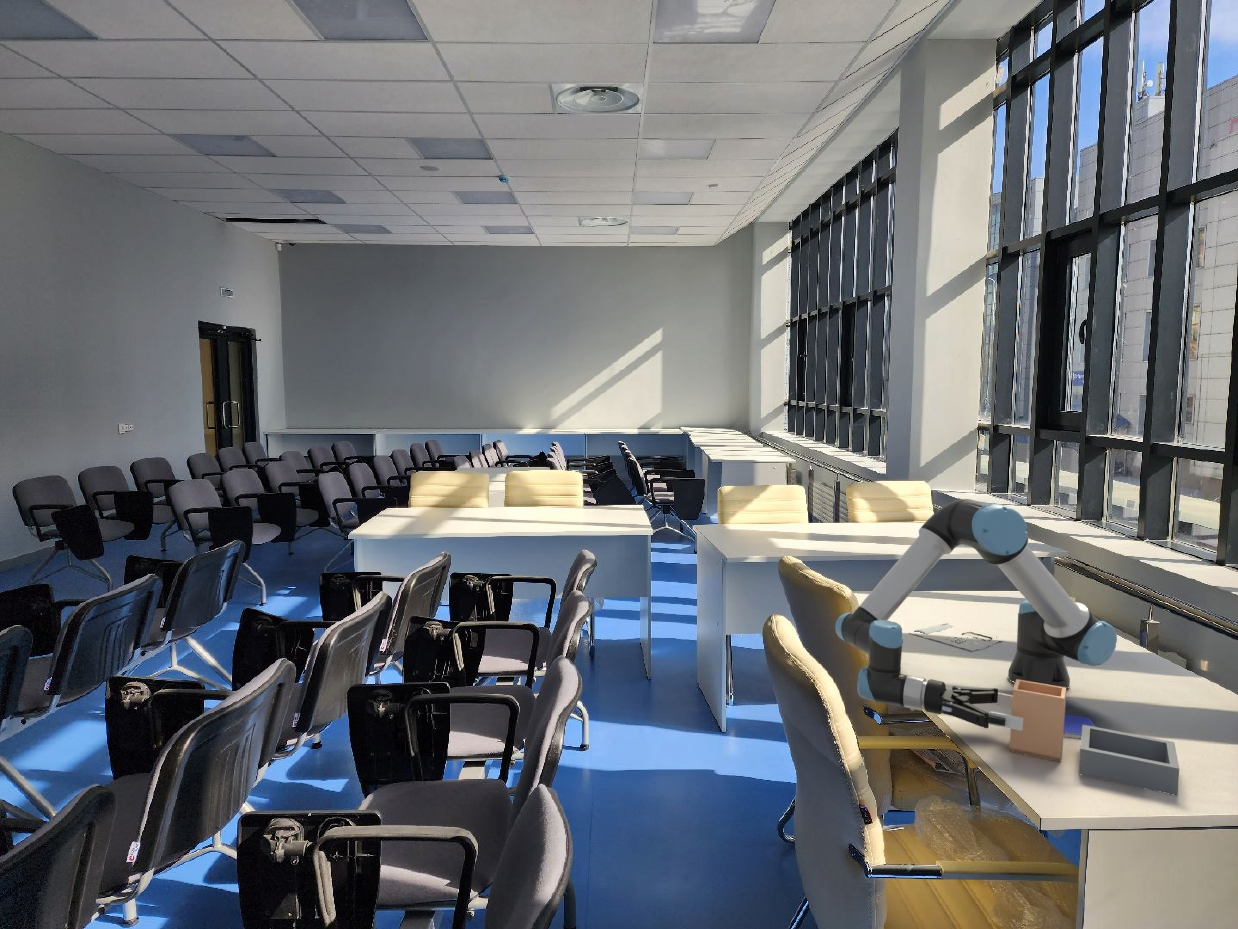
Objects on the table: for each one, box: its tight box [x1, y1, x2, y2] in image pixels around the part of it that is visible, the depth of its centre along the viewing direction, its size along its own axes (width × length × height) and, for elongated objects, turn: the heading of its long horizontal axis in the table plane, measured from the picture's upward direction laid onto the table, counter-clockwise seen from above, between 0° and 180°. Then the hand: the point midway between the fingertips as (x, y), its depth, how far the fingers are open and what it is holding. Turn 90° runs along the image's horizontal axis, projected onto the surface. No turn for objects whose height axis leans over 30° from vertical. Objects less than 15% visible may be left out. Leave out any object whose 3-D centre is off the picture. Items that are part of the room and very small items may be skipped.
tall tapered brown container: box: [1009, 679, 1067, 763], centre depth 181 cm, size 8×10×14 cm
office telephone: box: [913, 623, 998, 644], centre depth 268 cm, size 23×3×20 cm
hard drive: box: [1063, 714, 1096, 739], centre depth 194 cm, size 2×8×12 cm
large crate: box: [1078, 725, 1180, 796], centre depth 172 cm, size 15×17×6 cm
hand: (1026, 714), depth 182 cm, fingers open, 13 cm apart
